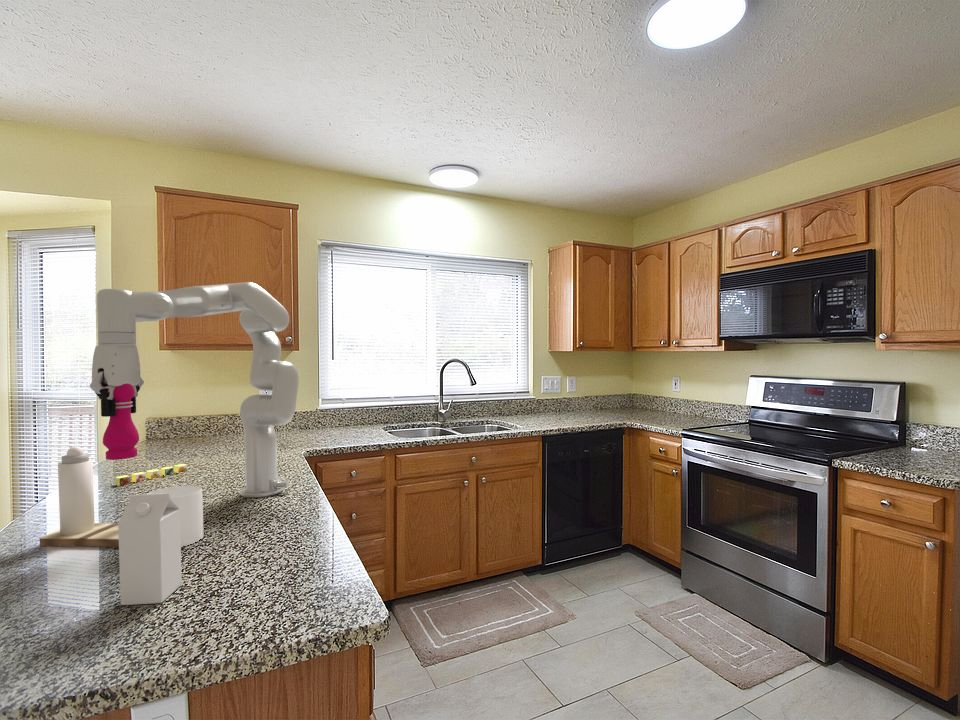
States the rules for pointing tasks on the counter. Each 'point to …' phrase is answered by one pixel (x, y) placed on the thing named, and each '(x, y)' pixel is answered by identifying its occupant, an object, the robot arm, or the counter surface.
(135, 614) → the counter surface
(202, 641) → the counter surface
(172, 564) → the milk carton
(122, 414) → the pepper mill
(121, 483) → the stock cubes
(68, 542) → the wooden divided tray
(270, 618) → the counter surface
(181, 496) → the cup
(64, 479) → the salt mill
